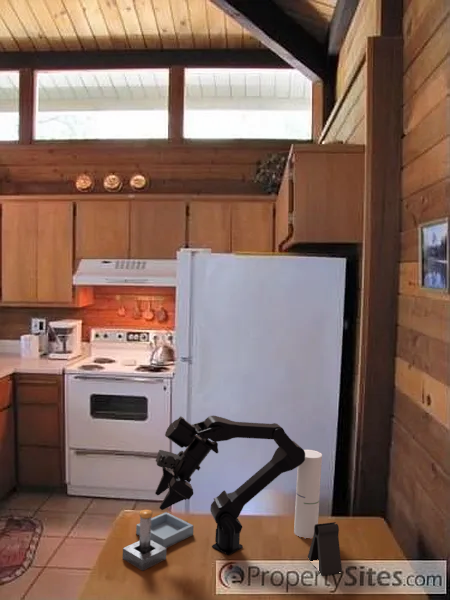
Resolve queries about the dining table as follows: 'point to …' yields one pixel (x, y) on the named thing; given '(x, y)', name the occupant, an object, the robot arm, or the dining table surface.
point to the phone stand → (326, 548)
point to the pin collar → (144, 555)
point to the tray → (168, 529)
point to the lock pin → (145, 531)
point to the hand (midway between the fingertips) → (158, 501)
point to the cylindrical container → (308, 494)
